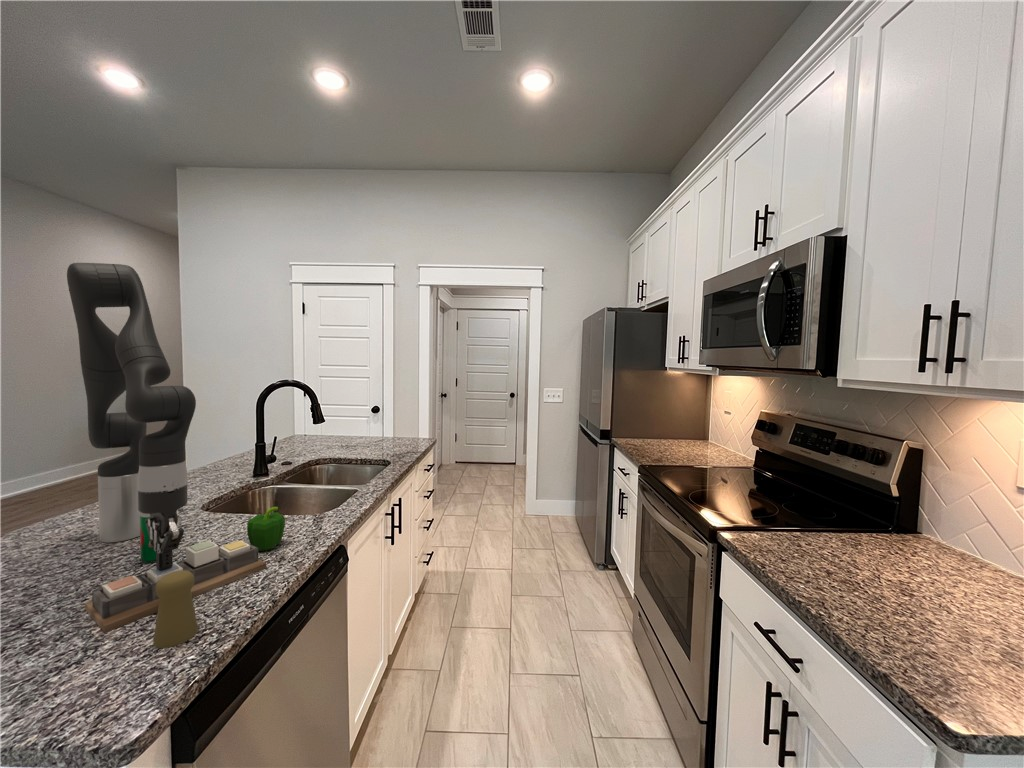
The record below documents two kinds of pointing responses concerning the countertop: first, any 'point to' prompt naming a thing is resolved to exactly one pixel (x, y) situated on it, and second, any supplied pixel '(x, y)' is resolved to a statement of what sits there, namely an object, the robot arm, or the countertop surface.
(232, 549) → the key
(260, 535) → the bell pepper
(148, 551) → the soda can
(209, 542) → the key
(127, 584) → the key
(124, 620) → the keypad
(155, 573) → the key
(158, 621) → the cork
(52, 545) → the countertop surface
